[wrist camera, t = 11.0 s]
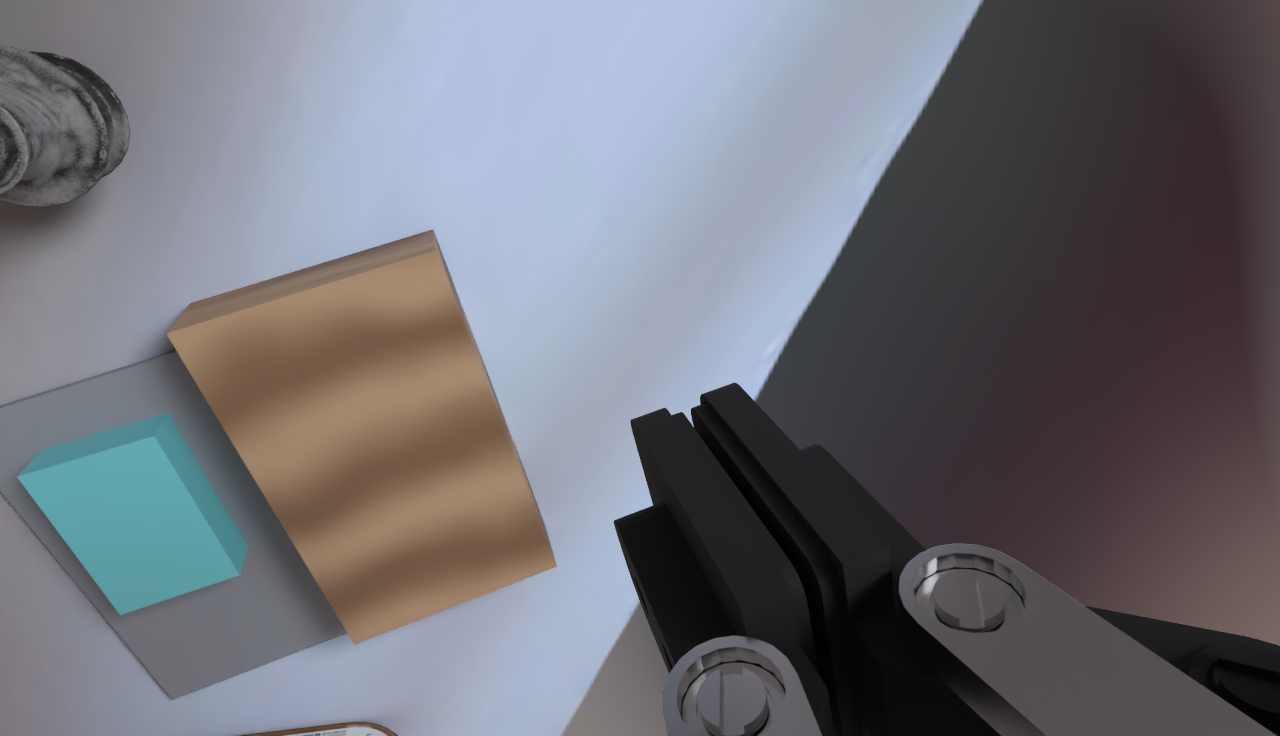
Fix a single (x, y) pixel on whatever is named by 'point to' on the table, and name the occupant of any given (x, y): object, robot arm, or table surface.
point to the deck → (371, 431)
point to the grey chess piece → (55, 128)
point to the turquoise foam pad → (137, 512)
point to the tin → (335, 730)
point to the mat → (273, 569)
